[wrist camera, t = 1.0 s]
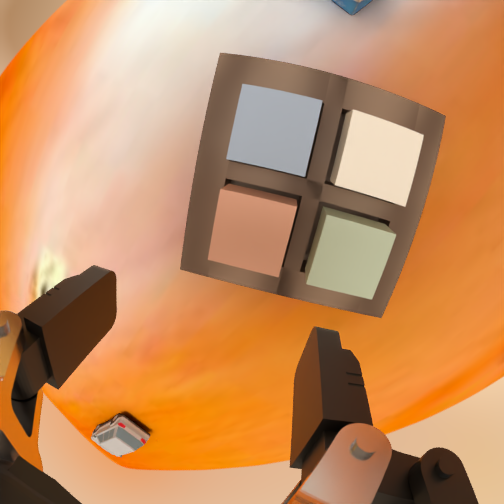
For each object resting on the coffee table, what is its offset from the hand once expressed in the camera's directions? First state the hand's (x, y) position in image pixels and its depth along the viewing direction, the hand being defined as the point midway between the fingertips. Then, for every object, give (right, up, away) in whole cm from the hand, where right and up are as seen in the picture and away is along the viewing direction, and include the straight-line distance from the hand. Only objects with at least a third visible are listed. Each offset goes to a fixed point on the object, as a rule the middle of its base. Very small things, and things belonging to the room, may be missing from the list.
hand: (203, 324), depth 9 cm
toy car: (-19, -26, +29) cm, 43 cm away
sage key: (+8, +3, +11) cm, 14 cm away
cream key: (+9, +8, +9) cm, 15 cm away
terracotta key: (+2, +4, +11) cm, 12 cm away
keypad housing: (+6, +7, +13) cm, 16 cm away
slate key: (+3, +10, +9) cm, 14 cm away
